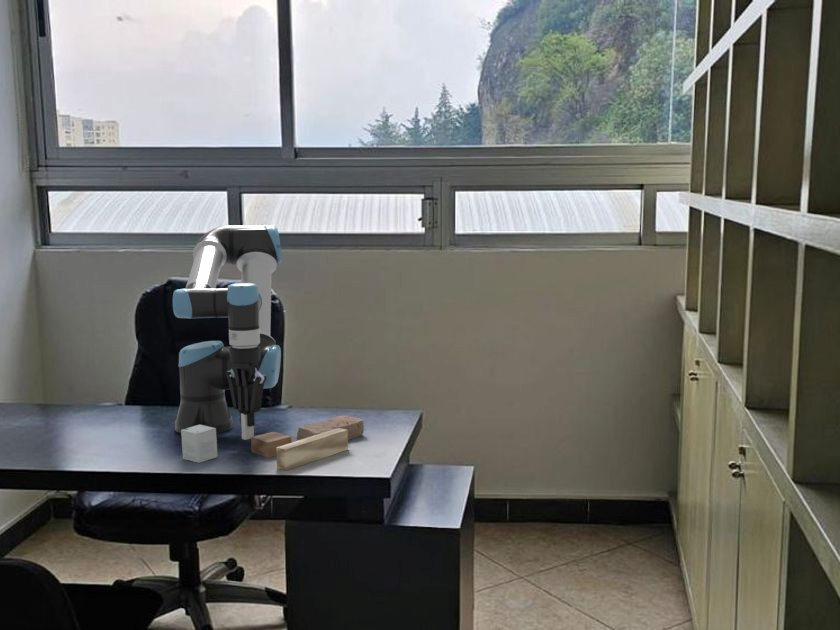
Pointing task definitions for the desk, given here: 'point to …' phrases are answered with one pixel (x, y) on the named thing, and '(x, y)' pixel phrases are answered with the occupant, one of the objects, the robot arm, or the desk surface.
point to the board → (311, 449)
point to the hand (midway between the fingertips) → (247, 438)
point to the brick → (333, 427)
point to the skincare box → (199, 443)
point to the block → (268, 443)
